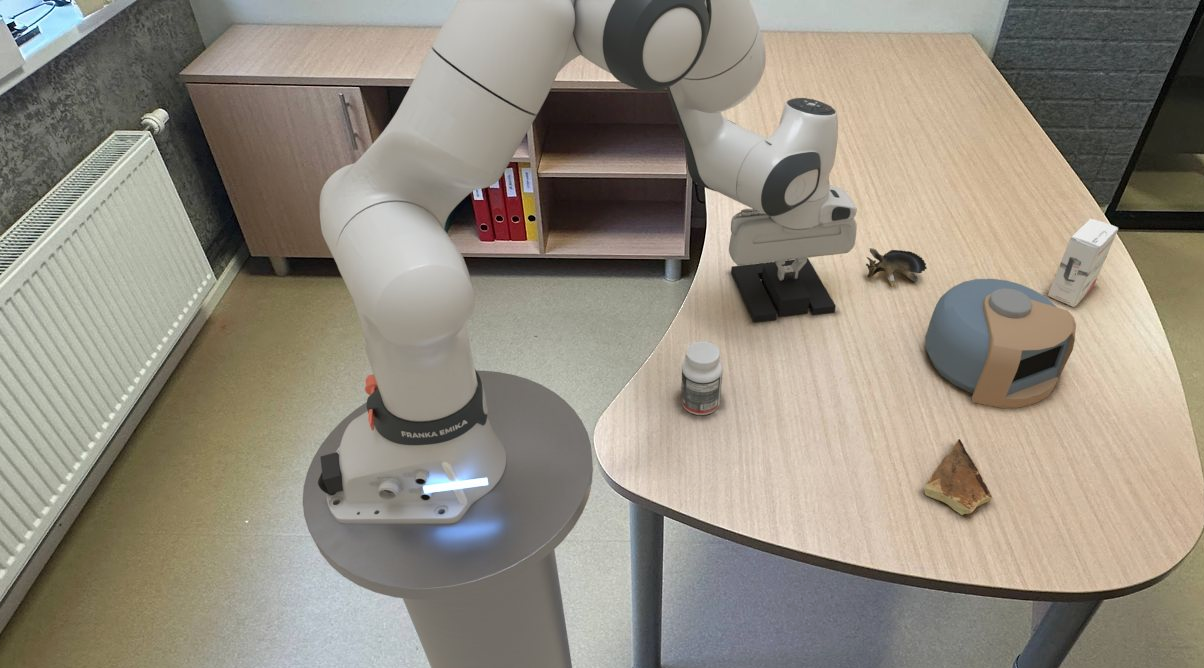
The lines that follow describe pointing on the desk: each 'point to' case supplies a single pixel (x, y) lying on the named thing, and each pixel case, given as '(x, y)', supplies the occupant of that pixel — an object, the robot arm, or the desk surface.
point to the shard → (958, 482)
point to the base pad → (759, 300)
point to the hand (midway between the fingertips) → (787, 277)
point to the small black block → (785, 292)
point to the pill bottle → (701, 378)
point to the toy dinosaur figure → (896, 264)
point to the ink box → (1082, 261)
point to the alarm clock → (1000, 342)
